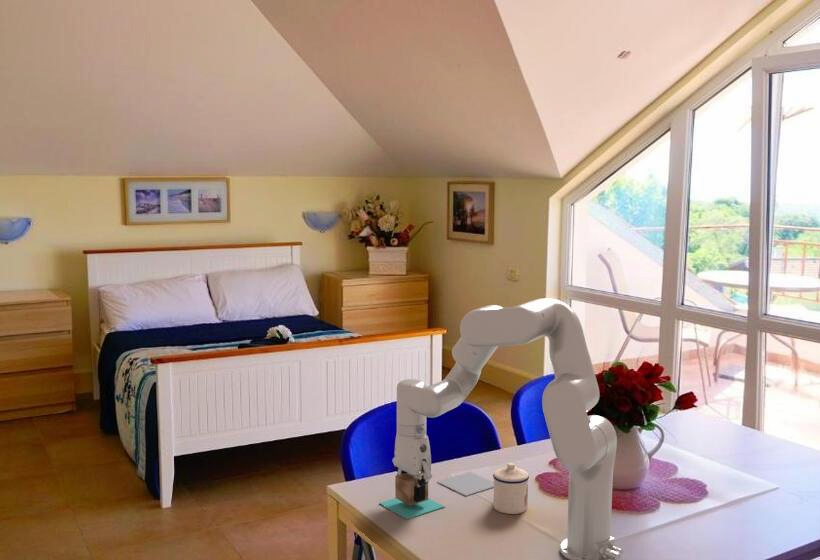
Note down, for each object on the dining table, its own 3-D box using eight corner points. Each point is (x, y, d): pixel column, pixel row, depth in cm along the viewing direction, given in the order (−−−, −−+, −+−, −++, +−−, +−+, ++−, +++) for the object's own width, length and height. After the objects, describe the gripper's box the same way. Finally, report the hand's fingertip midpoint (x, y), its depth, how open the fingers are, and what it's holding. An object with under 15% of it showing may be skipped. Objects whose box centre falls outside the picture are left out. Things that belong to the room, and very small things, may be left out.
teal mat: (444, 507, 214) (444, 506, 214) (407, 519, 206) (407, 518, 206) (415, 492, 223) (415, 491, 223) (379, 503, 216) (379, 502, 216)
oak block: (428, 499, 214) (428, 477, 213) (409, 505, 210) (409, 482, 209) (414, 492, 219) (414, 470, 218) (395, 498, 215) (395, 475, 214)
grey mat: (499, 485, 228) (499, 484, 228) (465, 496, 221) (465, 495, 221) (470, 472, 237) (470, 471, 237) (437, 482, 230) (437, 481, 230)
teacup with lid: (533, 513, 210) (534, 469, 208) (498, 516, 208) (499, 471, 207) (518, 494, 222) (518, 452, 220) (485, 497, 220) (485, 455, 218)
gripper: (444, 434, 207) (444, 503, 210) (403, 417, 221) (403, 482, 223) (420, 440, 203) (420, 511, 205) (379, 423, 216) (380, 489, 219)
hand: (411, 495), depth 214 cm, fingers closed on oak block, 5 cm apart
